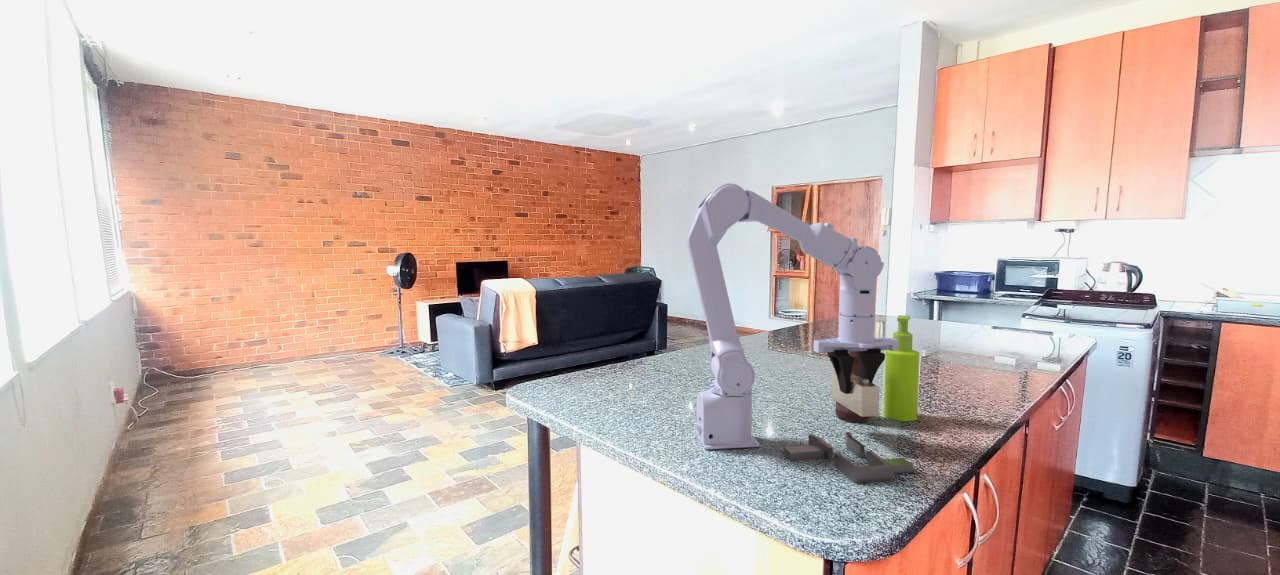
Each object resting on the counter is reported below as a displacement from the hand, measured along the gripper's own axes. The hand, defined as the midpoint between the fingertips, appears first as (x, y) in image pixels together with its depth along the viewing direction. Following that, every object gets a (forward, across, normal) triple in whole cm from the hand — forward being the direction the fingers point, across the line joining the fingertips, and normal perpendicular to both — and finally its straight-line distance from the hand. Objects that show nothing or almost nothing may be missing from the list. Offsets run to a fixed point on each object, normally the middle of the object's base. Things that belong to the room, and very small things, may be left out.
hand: (854, 391), depth 87 cm
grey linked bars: (+8, -6, -9) cm, 14 cm away
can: (+8, +5, +10) cm, 14 cm away
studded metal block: (+3, 0, 0) cm, 3 cm away
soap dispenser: (+8, +15, +10) cm, 20 cm away
